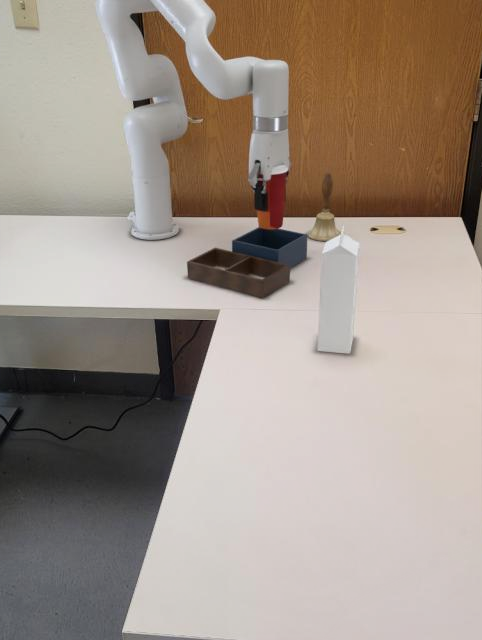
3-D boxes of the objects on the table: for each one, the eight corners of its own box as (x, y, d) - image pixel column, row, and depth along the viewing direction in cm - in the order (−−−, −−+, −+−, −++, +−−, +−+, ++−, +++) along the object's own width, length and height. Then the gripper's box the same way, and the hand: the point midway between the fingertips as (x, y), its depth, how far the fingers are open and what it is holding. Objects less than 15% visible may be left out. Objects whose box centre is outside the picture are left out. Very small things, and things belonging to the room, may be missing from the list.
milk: (317, 351, 132) (321, 236, 121) (321, 336, 137) (325, 224, 126) (350, 354, 131) (358, 237, 119) (353, 339, 136) (361, 225, 124)
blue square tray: (232, 265, 169) (231, 240, 166) (262, 248, 178) (262, 225, 175) (278, 276, 163) (278, 250, 160) (306, 258, 171) (307, 234, 168)
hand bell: (342, 231, 187) (345, 169, 179) (339, 242, 180) (342, 178, 172) (310, 229, 189) (312, 168, 181) (306, 240, 182) (308, 177, 174)
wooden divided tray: (187, 278, 163) (186, 261, 161) (215, 263, 170) (215, 247, 168) (263, 298, 152) (263, 281, 150) (289, 281, 160) (290, 264, 158)
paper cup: (287, 220, 168) (288, 159, 161) (286, 231, 162) (287, 168, 155) (254, 219, 169) (253, 159, 162) (252, 230, 163) (251, 168, 156)
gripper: (277, 114, 162) (276, 193, 171) (232, 129, 150) (234, 213, 159) (306, 118, 158) (304, 198, 167) (262, 133, 146) (262, 218, 155)
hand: (270, 205), depth 163 cm, fingers closed on paper cup, 6 cm apart
